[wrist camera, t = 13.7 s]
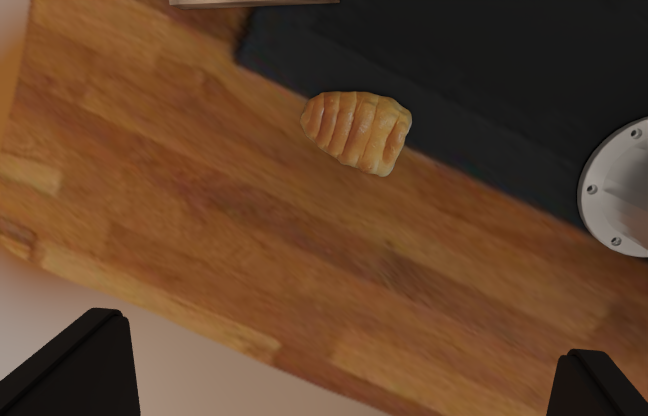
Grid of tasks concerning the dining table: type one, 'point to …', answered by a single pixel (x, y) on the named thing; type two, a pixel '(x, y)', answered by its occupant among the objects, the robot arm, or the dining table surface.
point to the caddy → (240, 3)
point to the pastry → (358, 129)
